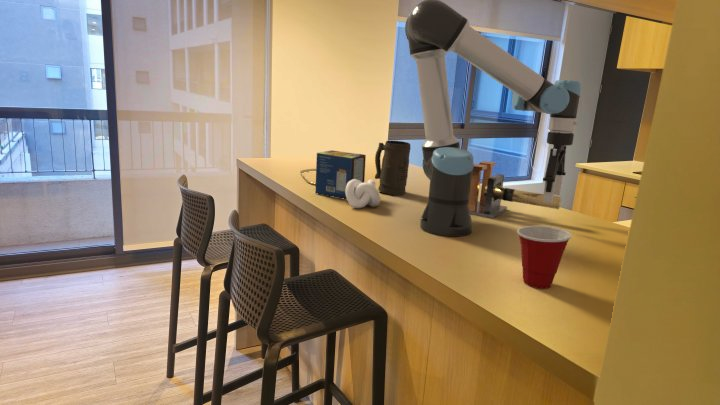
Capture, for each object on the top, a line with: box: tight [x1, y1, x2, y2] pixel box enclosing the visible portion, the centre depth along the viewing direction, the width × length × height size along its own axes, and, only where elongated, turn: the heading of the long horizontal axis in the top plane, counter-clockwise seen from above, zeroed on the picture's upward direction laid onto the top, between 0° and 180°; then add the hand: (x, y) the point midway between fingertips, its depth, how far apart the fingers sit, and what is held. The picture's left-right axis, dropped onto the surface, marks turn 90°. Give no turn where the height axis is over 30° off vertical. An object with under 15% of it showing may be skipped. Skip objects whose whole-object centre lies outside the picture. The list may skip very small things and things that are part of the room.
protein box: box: [315, 150, 367, 200], centre depth 171 cm, size 10×15×16 cm
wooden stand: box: [469, 160, 508, 219], centre depth 160 cm, size 16×18×16 cm
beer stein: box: [374, 140, 412, 196], centre depth 180 cm, size 15×11×20 cm
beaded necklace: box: [299, 168, 316, 186], centre depth 201 cm, size 19×35×2 cm, turn 16°
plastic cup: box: [516, 225, 572, 290], centre depth 99 cm, size 11×11×12 cm
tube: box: [484, 185, 562, 210], centre depth 153 cm, size 4×24×4 cm, turn 58°
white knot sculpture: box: [345, 178, 381, 209], centre depth 157 cm, size 11×12×9 cm
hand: (551, 198), depth 148 cm, fingers open, 13 cm apart
